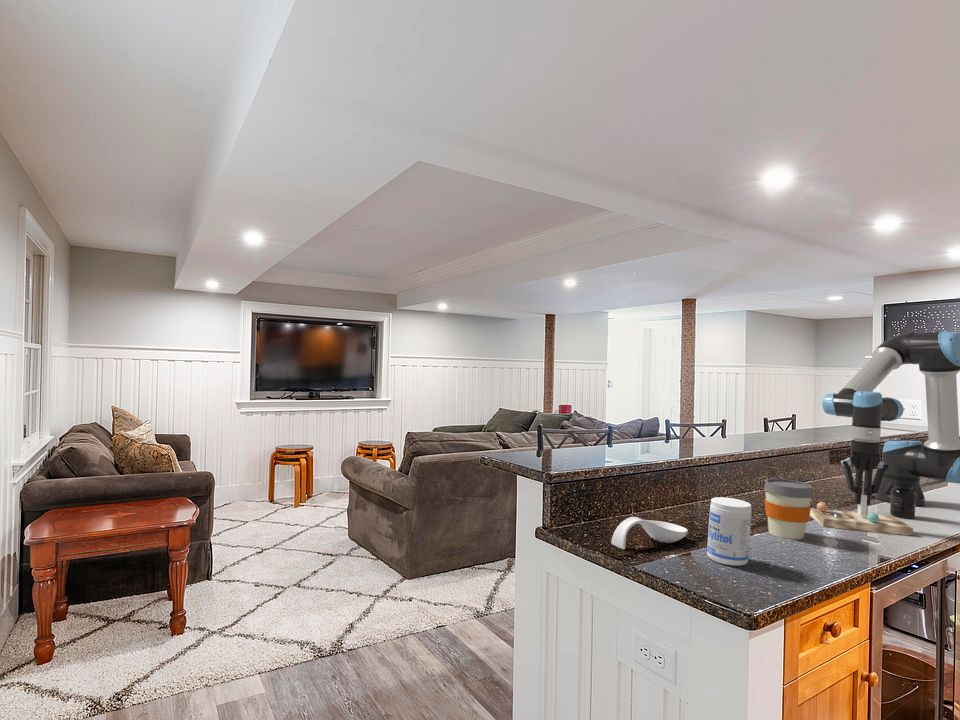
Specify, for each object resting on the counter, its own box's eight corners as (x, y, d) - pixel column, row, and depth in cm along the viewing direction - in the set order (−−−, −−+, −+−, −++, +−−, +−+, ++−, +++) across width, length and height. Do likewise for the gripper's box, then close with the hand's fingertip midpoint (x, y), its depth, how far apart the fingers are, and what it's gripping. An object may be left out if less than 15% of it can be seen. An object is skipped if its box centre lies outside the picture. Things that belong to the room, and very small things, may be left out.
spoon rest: (662, 530, 164) (663, 506, 164) (696, 543, 154) (697, 517, 154) (601, 541, 152) (603, 515, 152) (634, 556, 142) (636, 527, 141)
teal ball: (876, 521, 174) (876, 511, 174) (880, 524, 171) (880, 514, 171) (865, 520, 175) (865, 510, 175) (869, 523, 172) (869, 513, 172)
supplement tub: (701, 559, 141) (704, 500, 140) (713, 550, 148) (716, 494, 148) (742, 570, 134) (745, 509, 134) (753, 560, 142) (756, 502, 141)
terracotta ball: (825, 510, 185) (825, 501, 185) (828, 513, 182) (829, 503, 182) (815, 509, 185) (815, 500, 185) (818, 512, 182) (818, 502, 182)
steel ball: (843, 518, 181) (837, 509, 181) (847, 521, 177) (841, 512, 178) (834, 523, 181) (828, 514, 182) (837, 526, 178) (831, 517, 179)
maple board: (892, 523, 182) (892, 516, 182) (912, 536, 169) (913, 527, 169) (809, 515, 187) (810, 508, 187) (823, 526, 175) (823, 518, 175)
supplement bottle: (919, 520, 188) (921, 484, 188) (896, 518, 189) (898, 482, 189) (908, 514, 194) (909, 480, 194) (885, 512, 196) (887, 478, 196)
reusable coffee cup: (792, 543, 157) (795, 489, 156) (752, 530, 168) (755, 480, 168) (820, 538, 162) (822, 486, 162) (779, 525, 174) (782, 477, 173)
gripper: (846, 440, 176) (842, 515, 176) (894, 443, 173) (890, 520, 173) (837, 437, 183) (834, 509, 183) (883, 440, 180) (880, 513, 180)
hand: (861, 514), depth 178 cm, fingers closed
